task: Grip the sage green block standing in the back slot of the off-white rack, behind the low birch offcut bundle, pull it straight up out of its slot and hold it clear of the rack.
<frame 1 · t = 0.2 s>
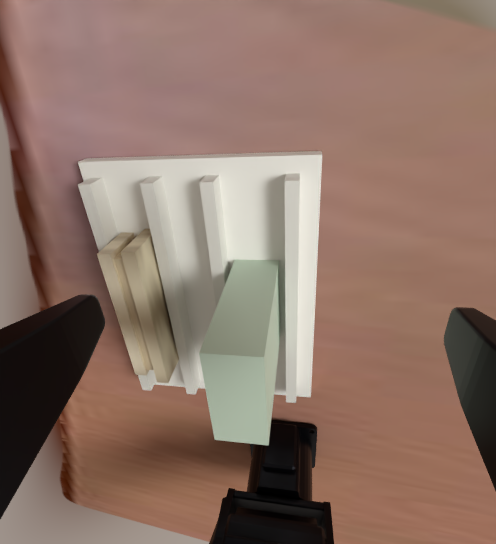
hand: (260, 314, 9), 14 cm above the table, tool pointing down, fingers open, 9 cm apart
offcut bundle: (154, 295, 26), point 1 cm above the table, touching slot rack
sage green block: (258, 299, 25), point 1 cm above the table, touching slot rack
slot rack: (215, 290, 26), on the table
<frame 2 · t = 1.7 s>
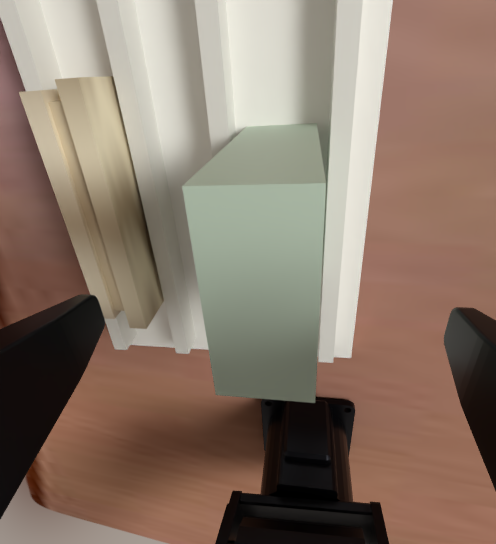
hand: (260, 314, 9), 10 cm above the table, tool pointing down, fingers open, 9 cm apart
offcut bundle: (126, 200, 18), point 1 cm above the table, touching slot rack
sage green block: (282, 198, 16), point 1 cm above the table, touching slot rack
slot rack: (215, 193, 18), on the table
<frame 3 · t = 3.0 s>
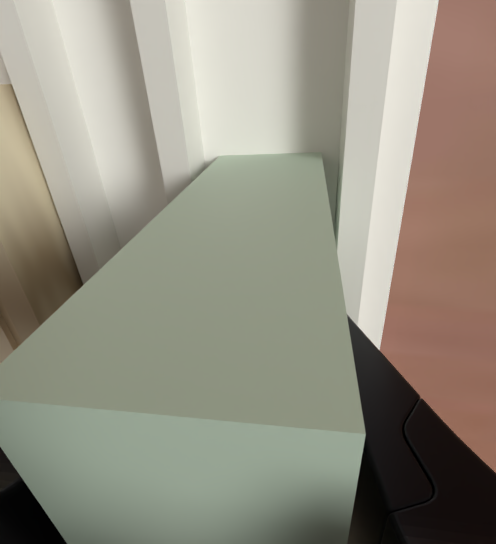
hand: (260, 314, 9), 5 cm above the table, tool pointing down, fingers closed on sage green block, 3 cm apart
offcut bundle: (62, 249, 13), point 1 cm above the table, touching slot rack
sage green block: (272, 252, 12), point 1 cm above the table, touching gripper, slot rack
slot rack: (183, 239, 13), on the table
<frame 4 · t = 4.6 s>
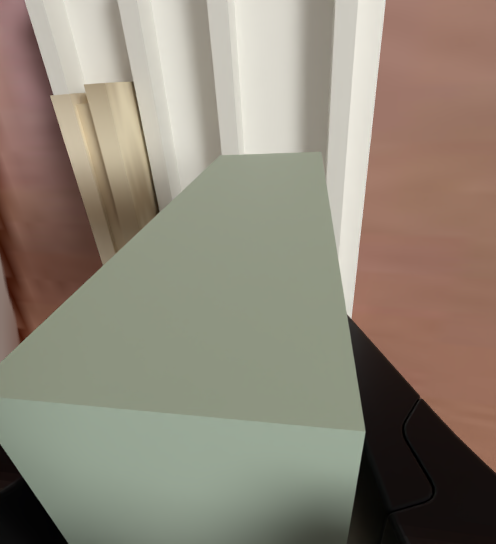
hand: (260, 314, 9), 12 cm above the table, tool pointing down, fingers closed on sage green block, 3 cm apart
offcut bundle: (141, 195, 19), point 1 cm above the table, touching slot rack
sage green block: (272, 251, 12), point 8 cm above the table, touching gripper
slot rack: (223, 188, 19), on the table
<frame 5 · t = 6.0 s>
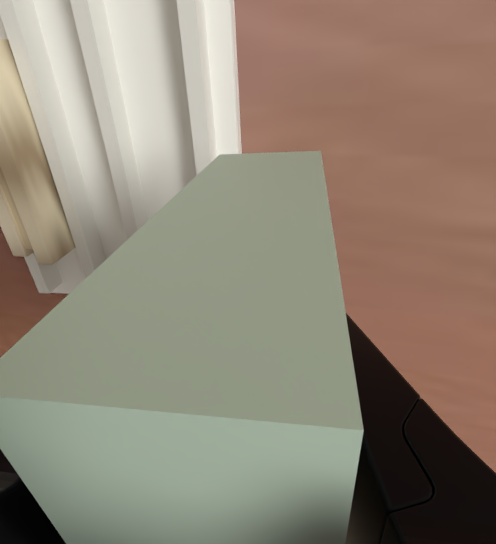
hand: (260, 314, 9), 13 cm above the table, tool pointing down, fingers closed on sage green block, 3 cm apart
offcut bundle: (39, 154, 20), point 1 cm above the table, touching slot rack
sage green block: (272, 251, 12), point 9 cm above the table, touching gripper
slot rack: (118, 150, 20), on the table
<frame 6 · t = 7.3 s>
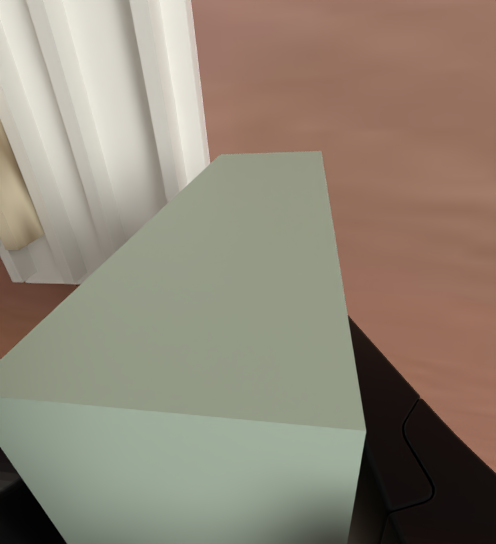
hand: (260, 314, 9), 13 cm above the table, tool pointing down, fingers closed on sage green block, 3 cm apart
offcut bundle: (5, 139, 20), point 1 cm above the table, touching slot rack
sage green block: (272, 251, 12), point 9 cm above the table, touching gripper
slot rack: (83, 133, 20), on the table
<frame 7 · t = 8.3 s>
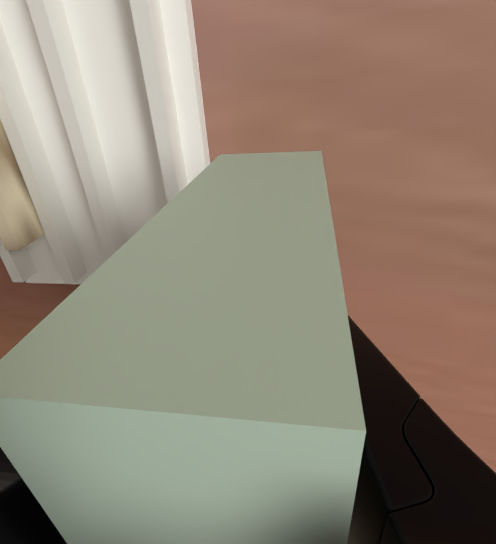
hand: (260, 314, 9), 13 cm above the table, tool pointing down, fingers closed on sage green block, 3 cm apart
offcut bundle: (5, 139, 20), point 1 cm above the table, touching slot rack
sage green block: (272, 251, 12), point 9 cm above the table, touching gripper
slot rack: (83, 133, 20), on the table
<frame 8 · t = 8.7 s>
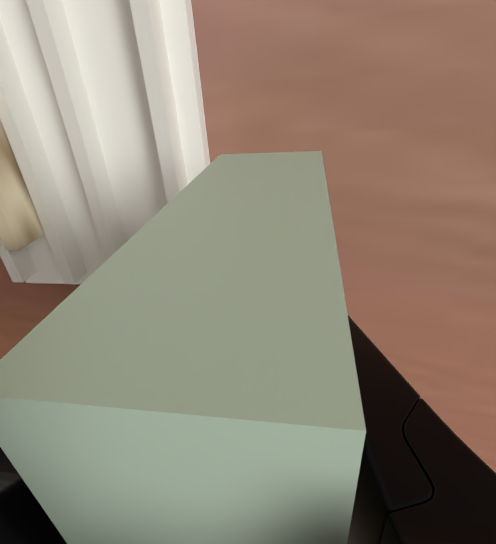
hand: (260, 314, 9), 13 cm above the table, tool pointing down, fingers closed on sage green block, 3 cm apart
offcut bundle: (5, 139, 20), point 1 cm above the table, touching slot rack
sage green block: (272, 251, 12), point 9 cm above the table, touching gripper
slot rack: (83, 133, 20), on the table
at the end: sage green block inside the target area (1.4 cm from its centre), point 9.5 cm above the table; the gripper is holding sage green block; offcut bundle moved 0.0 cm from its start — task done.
